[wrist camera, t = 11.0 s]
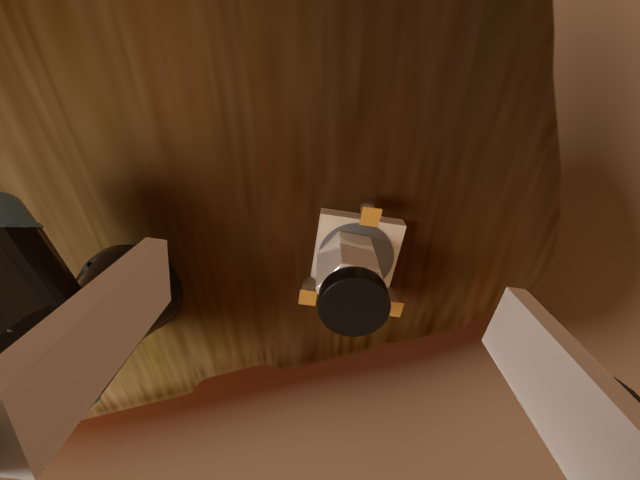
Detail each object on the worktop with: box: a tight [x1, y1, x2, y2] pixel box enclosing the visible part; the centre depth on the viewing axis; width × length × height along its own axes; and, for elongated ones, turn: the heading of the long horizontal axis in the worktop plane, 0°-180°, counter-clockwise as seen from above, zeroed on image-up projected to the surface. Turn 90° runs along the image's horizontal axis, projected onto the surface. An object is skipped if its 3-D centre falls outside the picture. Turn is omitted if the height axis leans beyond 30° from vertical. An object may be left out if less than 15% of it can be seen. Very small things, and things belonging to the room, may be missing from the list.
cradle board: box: [298, 199, 407, 317], centre depth 45 cm, size 15×16×7 cm
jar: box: [315, 231, 391, 337], centre depth 40 cm, size 9×8×12 cm
